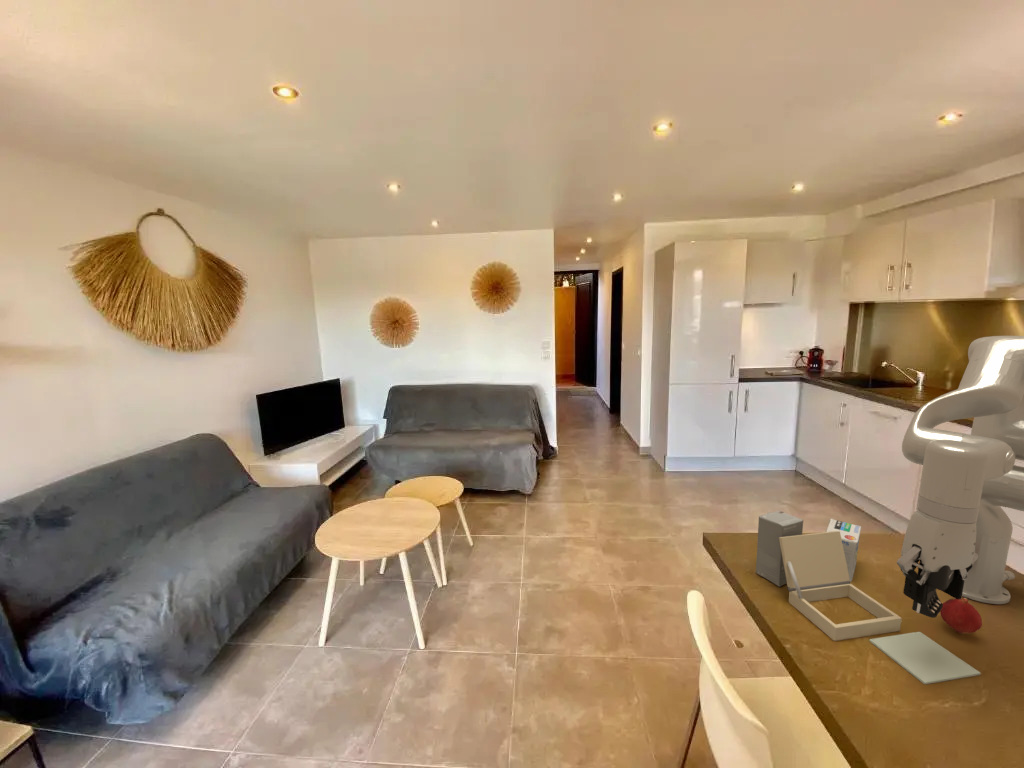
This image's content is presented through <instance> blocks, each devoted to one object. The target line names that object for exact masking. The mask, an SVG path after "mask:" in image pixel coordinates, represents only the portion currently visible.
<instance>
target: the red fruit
mask: <svg viewBox="0 0 1024 768" xmlns="http://www.w3.org/2000/svg"><path fill="white" fill-rule="evenodd" d="M968 599H969V598H966V597H962V598H961V599H955V598H952V599H948V600H946V601H944V602H943V603H942V604H943V607H942V609H941V611H940V612H939V613H940V617H941V619H942V621H943V622H945V624H947V625H948V627H950V628H951V629H953V631H954V632H955V633H958V634H974V633H976V632H978V631H979V630H980V629H981V628H982V626H983V621H982V617H981V614H980V613H979V611H978V610H977V609H976V608H975V607H974V606H973V605H972V604H971V603H969V600H968Z"/></svg>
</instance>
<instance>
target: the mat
mask: <svg viewBox="0 0 1024 768" xmlns="http://www.w3.org/2000/svg"><path fill="white" fill-rule="evenodd" d="M868 641H869V642H870V643H871V645H872V644H873V646H874V647H876V648H877V649H879V650H880V651H881V652H882V653H884V654H885V655H886V656H887V657H889V658H890V659H891V660H893V661H894V662H895V663H897V664H898V665H899V666H900V667H902V668H903V670H905V671H907V672H908V673H909V674H911V675H912V676H913V677H914V678H916V679H917V680H918V681H920V682H921V684H924V685H930V684H936V683H941V682H947V681H948V682H949V681H953V680H958V679H963V678H970V677H977V676H980V675H981V674H982V673H981V672H980V671H979V670H978V669H975V668H974V667H973V666H972V665H970V664H968V663H967V662H966V661H964V660H963V659H961V658H959V656H956V655H955V654H953V653H952V652H950V651H949V650H948V649H946V648H945V647H943V646H942V645H940V644H938V643H937V642H935V640H934V639H932V638H930V637H928V636H927V635H925V634H924V633H922V632H921V631H915V632H914V631H913V632H908V633H902V634H901V633H900V634H894V635H887V636H883V637H875V638H870V639H868Z"/></svg>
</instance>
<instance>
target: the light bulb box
mask: <svg viewBox="0 0 1024 768" xmlns="http://www.w3.org/2000/svg"><path fill="white" fill-rule="evenodd" d="M832 531H840V535H841V539H842V544H843V549H844V554H845V559H846V564H847V569H848V574H849V578H850V582H852V581H853V578H854V574H855V571H856V570H855V569H856V566H857V560H858V559H857V558H858V552H859V544H860V537H861V532H862V526H860V525H857V524H853V523H848V522H845V521H840V520H837V519H834V518H829V520H828V525H827V528H826V530H825V532H832Z"/></svg>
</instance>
